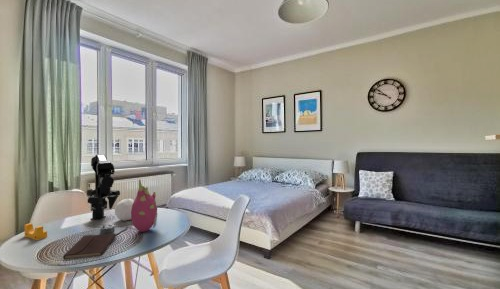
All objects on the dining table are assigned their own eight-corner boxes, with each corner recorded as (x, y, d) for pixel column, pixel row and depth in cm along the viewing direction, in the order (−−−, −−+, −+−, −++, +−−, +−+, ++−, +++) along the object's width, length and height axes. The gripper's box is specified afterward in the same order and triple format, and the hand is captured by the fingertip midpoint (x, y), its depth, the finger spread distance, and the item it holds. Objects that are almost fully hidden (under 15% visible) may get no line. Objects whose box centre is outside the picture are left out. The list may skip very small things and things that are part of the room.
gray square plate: (104, 227, 138) (104, 221, 138) (126, 228, 137) (126, 222, 136) (85, 237, 124) (85, 230, 124) (110, 238, 123) (110, 232, 123)
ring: (106, 229, 134) (105, 224, 134) (116, 229, 133) (116, 224, 133) (97, 234, 127) (97, 228, 127) (108, 234, 127) (108, 229, 127)
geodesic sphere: (128, 205, 164) (119, 192, 155) (146, 206, 162) (138, 192, 153) (115, 224, 153) (105, 210, 144) (135, 225, 150) (126, 212, 142)
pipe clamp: (47, 237, 125) (47, 225, 125) (37, 240, 121) (37, 228, 121) (34, 233, 129) (34, 222, 129) (24, 236, 125) (24, 224, 125)
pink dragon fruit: (156, 235, 127) (156, 180, 126) (128, 238, 123) (128, 182, 122) (158, 224, 144) (158, 176, 143) (134, 226, 140) (133, 177, 139)
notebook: (115, 236, 124) (115, 232, 124) (102, 255, 105) (102, 250, 105) (83, 239, 121) (83, 235, 120) (63, 259, 101) (63, 254, 101)
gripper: (103, 180, 142) (103, 205, 143) (78, 187, 124) (78, 216, 124) (120, 181, 141) (120, 206, 142) (97, 187, 123) (97, 217, 123)
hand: (104, 211), depth 133 cm, fingers open, 9 cm apart
